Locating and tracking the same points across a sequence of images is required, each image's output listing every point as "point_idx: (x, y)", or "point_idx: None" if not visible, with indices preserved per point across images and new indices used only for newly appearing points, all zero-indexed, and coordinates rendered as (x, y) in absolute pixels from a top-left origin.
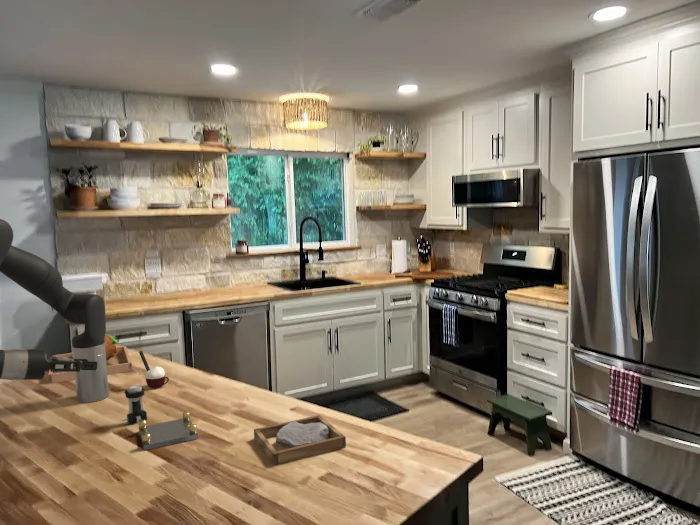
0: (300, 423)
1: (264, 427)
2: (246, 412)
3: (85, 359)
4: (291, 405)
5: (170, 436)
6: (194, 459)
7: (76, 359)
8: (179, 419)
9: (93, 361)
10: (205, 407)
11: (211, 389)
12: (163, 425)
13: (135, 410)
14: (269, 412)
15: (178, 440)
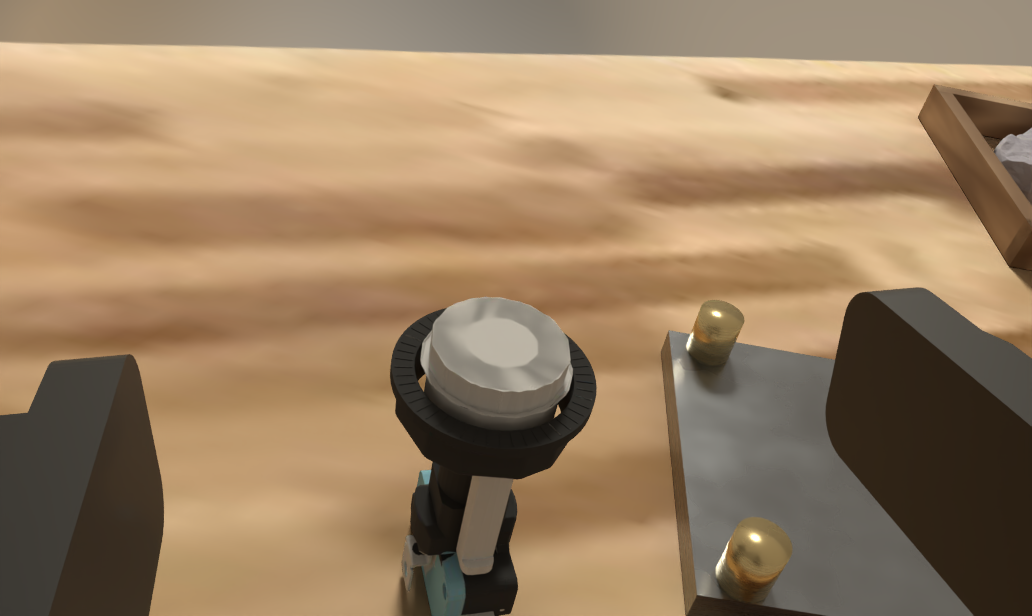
0: (1019, 135)
1: (1020, 203)
2: (673, 175)
3: (122, 382)
4: (682, 81)
5: None
6: None
7: (78, 552)
8: (679, 372)
9: (926, 313)
10: (476, 236)
11: (186, 126)
12: (743, 464)
13: (508, 515)
14: (721, 138)
15: None
